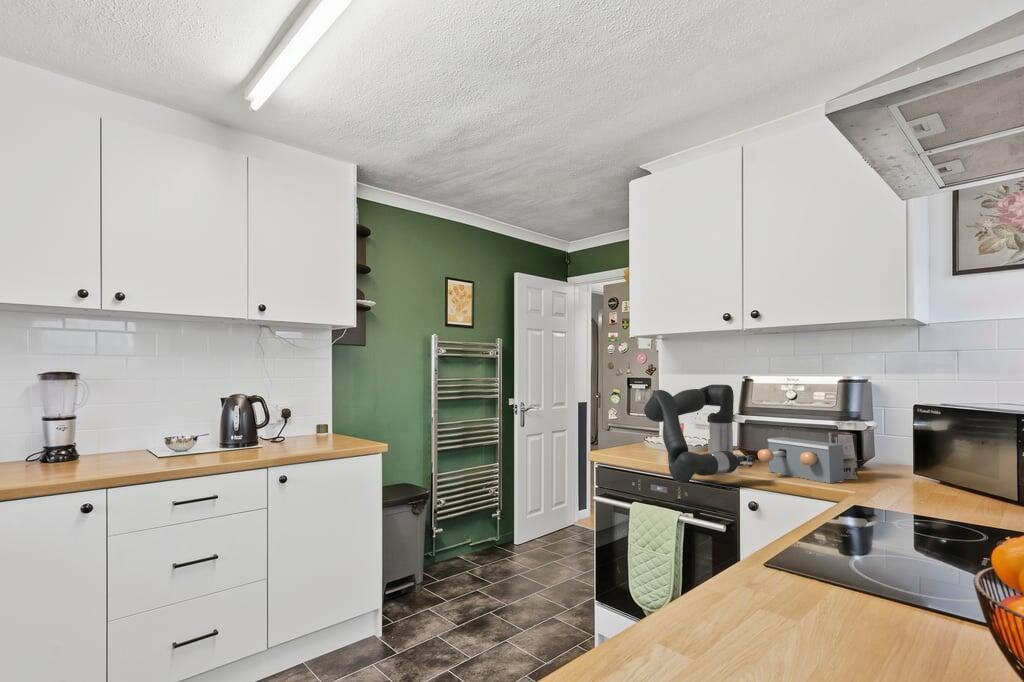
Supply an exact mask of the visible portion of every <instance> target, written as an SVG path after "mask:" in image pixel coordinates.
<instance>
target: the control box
mask: <svg viewBox="0 0 1024 682" xmlns="http://www.w3.org/2000/svg"><path fill="white" fill-rule="evenodd" d="M767 442H768V449H769V450H771V451H772V452H776V451H786V453H787V455H786V456H781V457H774V458H773V460H772V461H768V469H769V470H768V472H769V471H770V472H769V473H771V472H775V473H774V474H776V473H781V474H785V475H784V476H786V475H790V476H789V477H792V476H795V477H794V478H797V477H800V478H799V479H802V478H805V479H804V480H807V479H810V480H809V481H813V480H815V481H814V482H818V481H821V482H820V483H823V482H826V483H825V484H828V483H832V484H834V483H833V482H838V483H840V482H839V481H844V482H845V479H844V463H843V444H835V443H829V442H825V441H817V440H808V439H800V438H792V437H783V436H781V437H780V436H779V437H769V438H767ZM806 452H813V453H814V454H815V455H817V462H816V463H815V464H813V465H804V464H803V463H802V462H801V460H800V455H801V454H802V453H806ZM781 474H780V475H781Z"/></svg>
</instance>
